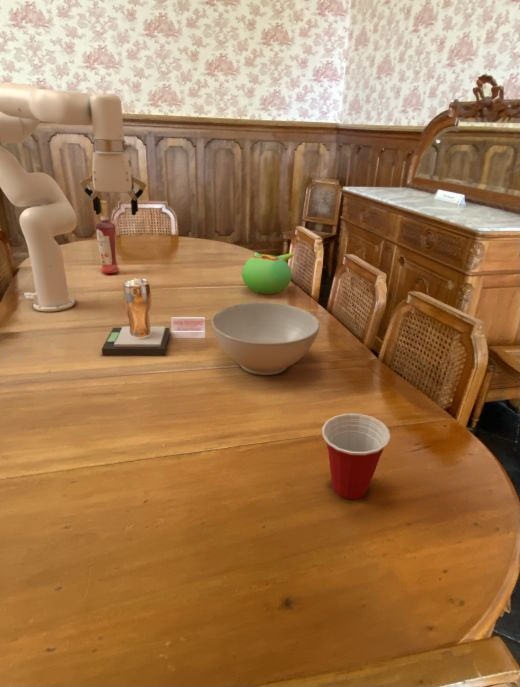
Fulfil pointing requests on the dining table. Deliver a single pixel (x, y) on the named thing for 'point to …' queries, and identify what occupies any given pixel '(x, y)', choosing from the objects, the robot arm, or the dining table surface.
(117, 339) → the scale
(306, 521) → the dining table surface
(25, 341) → the dining table surface
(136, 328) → the beer glass
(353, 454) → the plastic cup
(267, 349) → the decorative bowl
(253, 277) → the green round pot
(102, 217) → the liquor
